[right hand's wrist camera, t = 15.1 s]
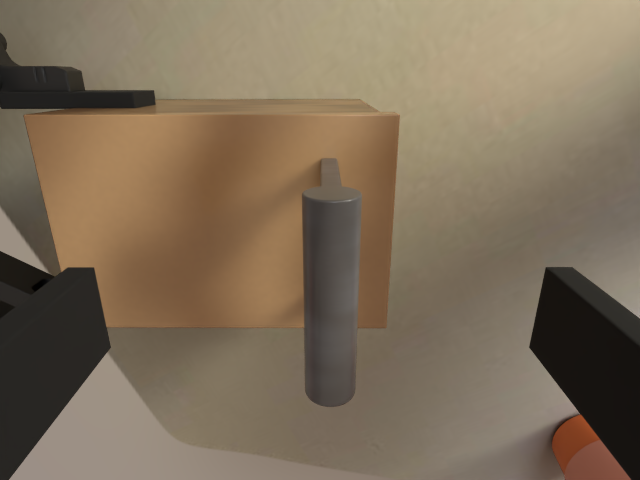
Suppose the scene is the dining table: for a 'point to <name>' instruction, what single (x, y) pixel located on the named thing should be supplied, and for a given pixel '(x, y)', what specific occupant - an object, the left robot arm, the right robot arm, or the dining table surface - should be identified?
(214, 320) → the lid
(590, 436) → the cup with straw
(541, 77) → the dining table surface
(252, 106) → the chest
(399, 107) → the dining table surface
